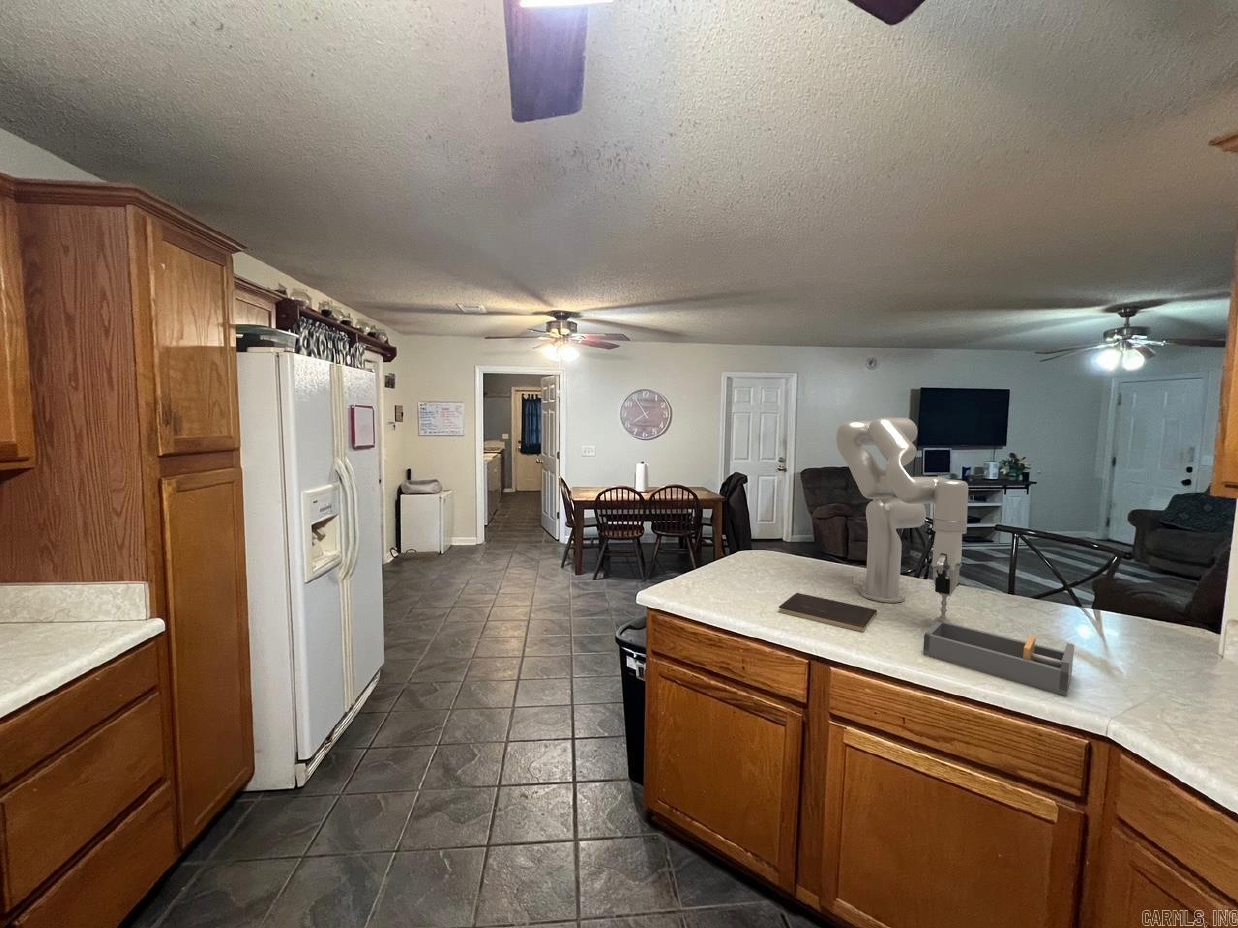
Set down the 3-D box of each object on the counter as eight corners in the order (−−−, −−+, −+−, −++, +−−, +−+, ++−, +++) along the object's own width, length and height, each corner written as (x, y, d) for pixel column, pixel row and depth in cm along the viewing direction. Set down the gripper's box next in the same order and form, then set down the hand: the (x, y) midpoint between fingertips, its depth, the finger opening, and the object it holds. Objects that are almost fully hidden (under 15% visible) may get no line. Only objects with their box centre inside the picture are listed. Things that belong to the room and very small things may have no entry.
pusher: (1021, 674, 110) (1023, 647, 110) (1027, 660, 117) (1029, 635, 116) (1059, 684, 106) (1061, 657, 105) (1063, 669, 112) (1065, 643, 112)
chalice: (962, 633, 134) (967, 567, 133) (934, 631, 136) (938, 565, 134) (950, 622, 142) (954, 559, 140) (923, 620, 143) (927, 558, 141)
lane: (922, 654, 122) (924, 625, 122) (936, 638, 131) (938, 612, 130) (1066, 696, 104) (1069, 663, 103) (1071, 675, 113) (1074, 644, 112)
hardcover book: (863, 634, 135) (864, 626, 134) (778, 614, 149) (778, 606, 148) (876, 616, 147) (877, 608, 147) (796, 599, 161) (797, 592, 161)
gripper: (941, 520, 145) (939, 579, 146) (924, 528, 133) (922, 592, 134) (973, 523, 139) (970, 585, 140) (958, 532, 127) (955, 599, 128)
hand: (947, 589), depth 137 cm, fingers open, 9 cm apart
